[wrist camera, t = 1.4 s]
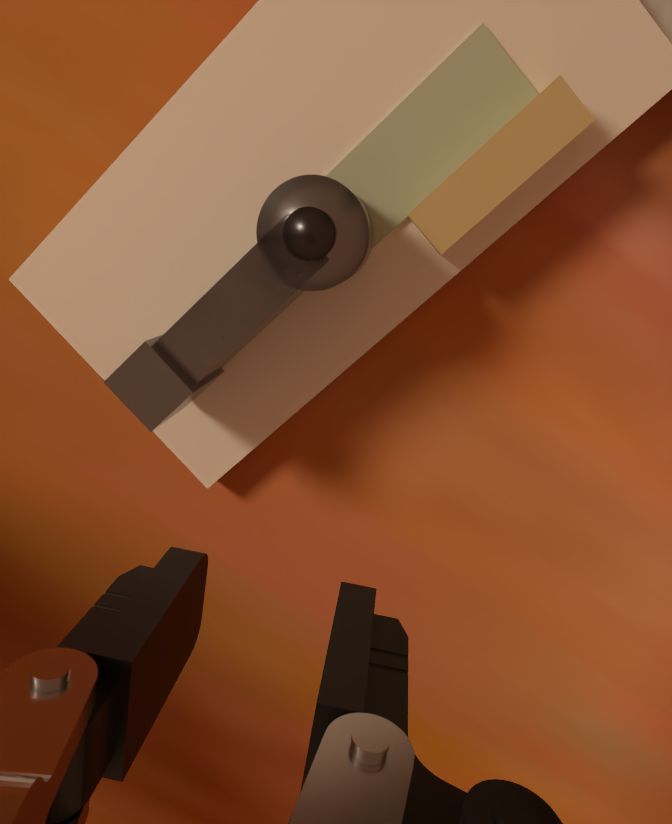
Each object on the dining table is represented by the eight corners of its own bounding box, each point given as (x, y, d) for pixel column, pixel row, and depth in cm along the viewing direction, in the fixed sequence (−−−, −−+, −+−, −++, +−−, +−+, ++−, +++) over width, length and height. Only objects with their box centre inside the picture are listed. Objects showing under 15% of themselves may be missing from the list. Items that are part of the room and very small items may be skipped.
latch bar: (328, 161, 25) (312, 145, 21) (393, 239, 26) (390, 238, 21) (136, 350, 28) (89, 368, 24) (198, 416, 29) (162, 445, 24)
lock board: (214, 479, 31) (194, 504, 28) (24, 277, 29) (-18, 281, 27) (678, 79, 24) (714, 57, 21) (464, -208, 23) (472, -273, 20)
